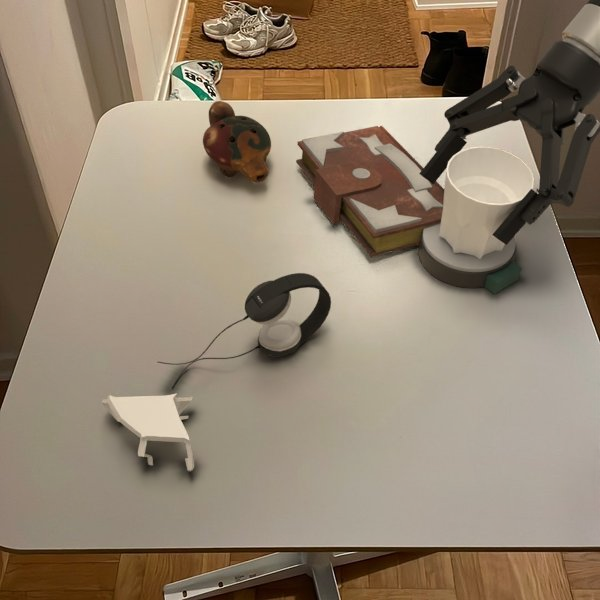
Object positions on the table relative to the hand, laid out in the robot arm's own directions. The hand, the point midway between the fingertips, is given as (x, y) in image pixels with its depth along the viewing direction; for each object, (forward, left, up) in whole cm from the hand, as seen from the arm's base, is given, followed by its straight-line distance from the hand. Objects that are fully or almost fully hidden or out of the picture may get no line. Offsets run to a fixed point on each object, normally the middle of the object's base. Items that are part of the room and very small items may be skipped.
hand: (460, 208), depth 88 cm
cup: (0, -3, -5) cm, 6 cm away
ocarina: (+34, +11, -9) cm, 37 cm away
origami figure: (-1, +43, -9) cm, 44 cm away
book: (+16, 0, -9) cm, 18 cm away
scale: (0, -2, -9) cm, 9 cm away
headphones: (+2, +30, -9) cm, 31 cm away
